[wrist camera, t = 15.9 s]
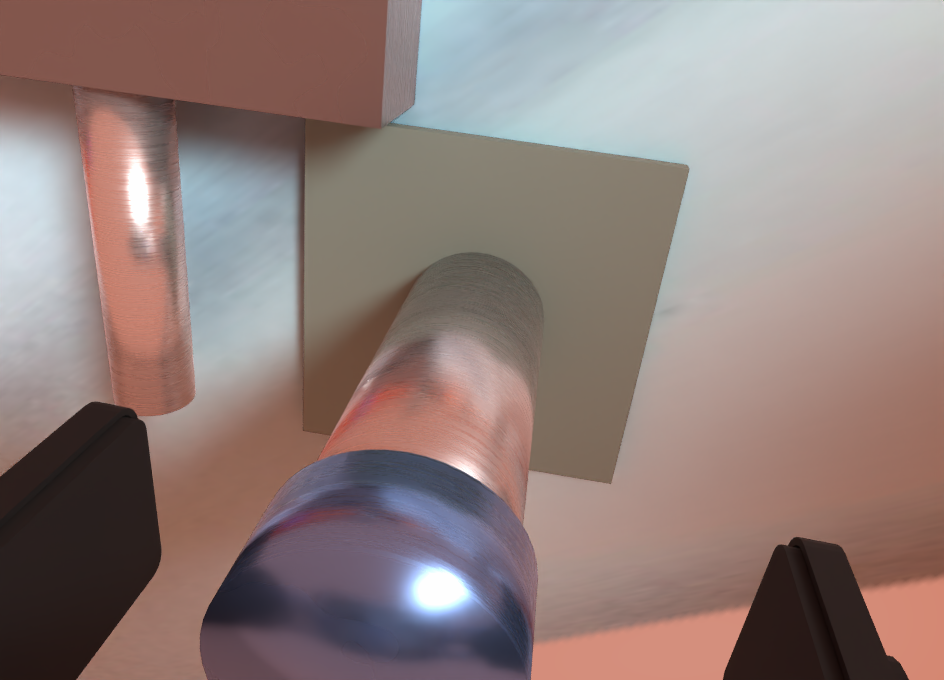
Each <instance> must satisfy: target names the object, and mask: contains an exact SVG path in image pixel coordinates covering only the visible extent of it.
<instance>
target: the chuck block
mask: <svg viewBox="0 0 944 680" xmlns="http://www.w3.org/2000/svg"><path fill="white" fill-rule="evenodd" d="M421 5H422V0H0V75H6V76H13V77H20V78H27V79H34V80H41V81H48V82H55V83H62V84H69V85H72V88H73V95H74V103H75V111H76V118H77V126H78V133H79V141H80V148H81V156H82V163H83V171H84V178H85V186H86V194H87V201H88V209H89V216H90V224H91V231H92V239H93V246H94V254H95V261H96V269H97V277H98V284H99V292H100V299H101V307H102V314H103V322H104V329H105V337H106V345H107V352H108V360H109V367H110V375H111V382H112V390H113V397H114V403H115V405H117V406H122V407H127V408H131V409H133V410H134V411H135V413H136V414H137V415H139V416H155V415H163V414H167V413H171V412H174V411H177V410H179V409H181V408H183V407H185V406H186V405H188V404H189V403H190V402H191V401H192V400H193V399H194V397H195V394H196V390H195V376H194V362H193V348H192V334H191V320H190V306H189V292H188V279H187V265H186V251H185V237H184V223H183V209H182V195H181V181H180V167H179V153H178V139H177V125H176V111H175V100H181V101H188V102H195V103H202V104H209V105H216V106H223V107H230V108H237V109H244V110H251V111H258V112H266V113H273V114H280V115H287V116H294V117H301V118H308V119H315V120H322V121H329V122H336V123H343V124H350V125H357V126H364V127H371V128H378V129H382V128H383V127H384V126H386V125H387V124H388V123H390V122H391V121H393V120H394V119H395V118H397V117H398V116H399V115H401V114H402V113H403V112H405V111H406V110H407V109H409V108H410V107H411V106H413V105H414V101H415V88H416V74H417V60H418V47H419V33H420V19H421Z"/></svg>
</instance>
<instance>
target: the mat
mask: <svg viewBox="0 0 944 680" xmlns="http://www.w3.org/2000/svg"><path fill="white" fill-rule="evenodd" d="M688 173H689V167H688V166H687V165H684V164H677V163H670V162H663V161H656V160H649V159H642V158H635V157H627V156H620V155H613V154H606V153H599V152H592V151H585V150H578V149H571V148H564V147H557V146H550V145H543V144H536V143H529V142H522V141H515V140H508V139H500V138H493V137H486V136H479V135H472V134H465V133H458V132H451V131H444V130H437V129H430V128H423V127H416V126H409V125H402V124H395V123H388V124H387V125H386V126H384V127H383V128H382V129H378V128H371V127H364V126H357V125H350V124H343V123H336V122H329V121H322V120H315V119H308V118H305V225H304V367H303V431H308V432H314V433H320V434H325V435H331V434H332V432H333V431H334V429H335V427H336V425H337V423H338V421H339V420H340V418H341V416H342V414H343V412H344V411H345V409H346V407H347V405H348V403H349V401H350V400H351V398H352V396H353V394H354V392H355V390H356V389H357V387H358V385H359V383H360V381H361V380H362V378H363V376H364V374H365V372H366V370H367V369H368V367H369V365H370V363H371V361H372V360H373V358H374V356H375V354H376V352H377V350H378V349H379V347H380V345H381V343H382V341H383V340H384V338H385V336H386V334H387V332H388V330H389V329H390V327H391V325H392V323H393V321H394V319H395V318H396V316H397V314H398V312H399V310H400V309H401V307H402V305H403V303H404V301H405V299H406V298H407V296H408V294H409V292H410V290H411V289H412V287H413V285H414V283H415V282H416V280H417V279H418V277H419V276H420V275H421V274H422V273H423V272H424V270H426V269H427V268H428V267H429V266H430V265H432V264H433V263H435V262H437V261H438V260H440V259H442V258H445V257H447V256H450V255H454V254H459V253H466V252H477V253H485V254H490V255H493V256H496V257H499V258H502V259H504V260H506V261H508V262H510V263H511V264H513V265H514V266H516V267H517V268H519V269H520V270H521V271H522V272H523V273H524V274H525V275H526V276H527V277H528V278H529V279H530V280H531V282H532V283H533V285H534V286H535V288H536V290H537V292H538V294H539V296H540V298H541V301H542V304H543V310H544V330H543V339H542V348H541V358H540V367H539V377H538V386H537V396H536V405H535V415H534V424H533V433H532V443H531V452H530V462H529V470H534V471H539V472H545V473H551V474H557V475H562V476H568V477H574V478H580V479H586V480H591V481H597V482H603V483H609V484H611V482H612V478H613V474H614V470H615V466H616V462H617V458H618V454H619V450H620V446H621V442H622V438H623V434H624V430H625V426H626V421H627V417H628V413H629V409H630V405H631V401H632V397H633V393H634V389H635V385H636V381H637V377H638V373H639V369H640V365H641V361H642V357H643V353H644V349H645V345H646V341H647V337H648V333H649V329H650V325H651V321H652V317H653V313H654V309H655V305H656V301H657V297H658V293H659V289H660V285H661V281H662V277H663V273H664V269H665V265H666V261H667V257H668V253H669V249H670V245H671V241H672V237H673V233H674V229H675V225H676V221H677V217H678V213H679V209H680V205H681V201H682V197H683V193H684V189H685V185H686V181H687V177H688Z"/></svg>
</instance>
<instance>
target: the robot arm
mask: <svg viewBox="0 0 944 680" xmlns="http://www.w3.org/2000/svg"><path fill="white" fill-rule="evenodd" d="M160 560H161V543H160V535H159V527H158V519H157V511H156V503H155V494H154V486H153V478H152V470H151V462H150V454H149V446H148V438H147V430H146V425H145V423H144V422H143V421H142V420H138V418H137V414H136V413H135V411H134V410H133V409H131V408H127V407H122V406H117V405H112V404H107V403H101V402H91V403H89V404H87V405H86V406H84V407H83V408H82V409H81V410H80V411H78V412H77V413H76V414H75V415H74V416H72V417H71V418H70V419H69V420H68V421H66V422H65V423H64V424H63V425H62V426H60V427H59V428H58V429H57V430H56V431H54V432H53V433H52V434H51V435H50V436H49V437H47V438H46V439H45V440H44V441H43V442H41V443H40V444H39V445H38V446H37V447H35V448H34V449H33V450H32V451H31V452H29V453H28V454H27V455H26V456H25V457H23V458H22V459H21V460H20V461H19V462H17V463H16V464H15V465H14V466H13V467H11V468H10V469H9V470H8V471H7V472H5V473H4V474H3V475H2V476H1V477H0V680H76V679H77V678H78V676H79V675H80V674H81V672H82V671H83V670H84V668H85V667H86V666H87V664H88V663H89V662H90V660H91V659H92V658H93V656H94V655H95V654H96V652H97V651H98V650H99V648H100V647H101V646H102V644H103V643H104V642H105V640H106V639H107V638H108V636H109V635H110V634H111V632H112V631H113V630H114V628H115V627H116V626H117V624H118V623H119V622H120V620H121V619H122V618H123V616H124V615H125V614H126V612H127V611H128V610H129V608H130V607H131V605H132V604H133V603H134V601H135V600H136V599H137V597H138V596H139V595H140V593H141V592H142V591H143V589H144V588H145V587H146V585H147V584H148V583H149V581H150V580H151V579H152V577H153V576H154V574H155V573H156V571H157V569H158V566H159V563H160ZM723 680H909V679H908V677H907V675H906V673H905V671H904V670H903V668H902V666H901V664H900V663H899V662H898V661H897V660H896V659H895V658H894V657H891V656H887V655H886V653H885V651H884V648H883V646H882V643H881V641H880V638H879V636H878V633H877V631H876V628H875V626H874V623H873V621H872V619H871V616H870V614H869V611H868V609H867V606H866V604H865V602H864V599H863V596H862V594H861V592H860V589H859V587H858V584H857V582H856V579H855V577H854V574H853V572H852V569H851V567H850V565H849V562H848V560H847V557H846V555H845V553H844V551H843V549H842V547H840V546H839V545H836V544H831V543H826V542H821V541H816V540H810V539H805V538H800V537H795V538H793V539H792V540H791V541H790V543H789V545H788V546H786V545H778V546H777V547H776V548H775V550H774V552H773V555H772V557H771V559H770V562H769V564H768V567H767V569H766V572H765V574H764V576H763V579H762V581H761V584H760V586H759V589H758V591H757V594H756V596H755V598H754V601H753V603H752V606H751V608H750V611H749V613H748V616H747V618H746V621H745V623H744V626H743V628H742V630H741V633H740V635H739V638H738V640H737V642H736V645H735V648H734V650H733V652H732V655H731V657H730V660H729V662H728V665H727V667H726V670H725V673H724V677H723Z"/></svg>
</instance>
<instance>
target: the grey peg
mask: <svg viewBox="0 0 944 680" xmlns="http://www.w3.org/2000/svg"><path fill="white" fill-rule="evenodd" d="M543 330H544V310H543V304H542V301H541V298H540V296H539V294H538V292H537V290H536V288H535V286H534V285H533V283H532V282H531V280H530V279H529V278H528V277H527V276H526V275H525V274H524V273H523V272H522V271H521V270H520V269H519V268H517V267H516V266H514V265H513V264H511V263H510V262H508V261H506V260H504V259H502V258H499V257H496V256H493V255H490V254H485V253H477V252H466V253H459V254H454V255H450V256H447V257H445V258H442V259H440V260H438V261H437V262H435V263H433V264H432V265H430V266H429V267H428V268H427V269H426V270H424V272H423V273H422V274H421V275H420V276H419V277H418V279H417V280H416V282H415V283H414V285H413V287H412V289H411V290H410V292H409V294H408V296H407V298H406V299H405V301H404V303H403V305H402V307H401V309H400V310H399V312H398V314H397V316H396V318H395V319H394V321H393V323H392V325H391V327H390V329H389V330H388V332H387V334H386V336H385V338H384V340H383V341H382V343H381V345H380V347H379V349H378V350H377V352H376V354H375V356H374V358H373V360H372V361H371V363H370V365H369V367H368V369H367V370H366V372H365V374H364V376H363V378H362V380H361V381H360V383H359V385H358V387H357V389H356V390H355V392H354V394H353V396H352V398H351V400H350V401H349V403H348V405H347V407H346V409H345V411H344V412H343V414H342V416H341V418H340V420H339V421H338V423H337V425H336V427H335V429H334V431H333V432H332V434H331V436H330V438H329V440H328V441H327V443H326V445H325V447H324V449H323V451H322V452H321V454H320V456H319V458H318V460H317V461H316V462H314V463H312V464H311V465H309V466H307V467H305V468H303V469H301V470H300V471H299V472H297V473H296V474H295V475H294V476H292V477H291V478H290V479H288V481H287V482H286V483H285V484H284V485H283V486H282V487H281V488H280V489H279V490H278V492H277V493H276V495H275V496H274V498H273V499H272V501H271V502H270V504H269V506H268V507H267V509H266V511H265V512H264V514H263V516H262V517H261V519H260V521H259V523H258V524H257V526H256V528H255V529H254V531H253V533H252V534H251V536H250V538H249V539H248V541H247V543H246V544H245V546H244V548H243V549H242V551H241V553H240V554H239V556H238V558H237V560H236V561H235V563H234V565H233V566H232V568H231V570H230V571H229V573H228V575H227V576H226V578H225V580H224V581H223V583H222V585H221V586H220V588H219V590H218V591H217V593H216V595H215V597H214V598H213V600H212V602H211V603H210V605H209V607H208V609H207V612H206V614H205V616H204V619H203V623H202V628H201V633H200V652H201V658H202V664H203V667H204V670H205V673H206V676H207V679H208V680H531V667H532V652H533V639H534V625H535V611H536V597H537V583H538V572H537V562H536V557H535V553H534V549H533V546H532V544H531V541H530V539H529V536H528V534H527V532H526V531H525V529H524V527H523V519H524V509H525V500H526V490H527V481H528V471H529V462H530V452H531V443H532V433H533V424H534V415H535V405H536V396H537V386H538V377H539V367H540V358H541V348H542V339H543Z"/></svg>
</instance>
